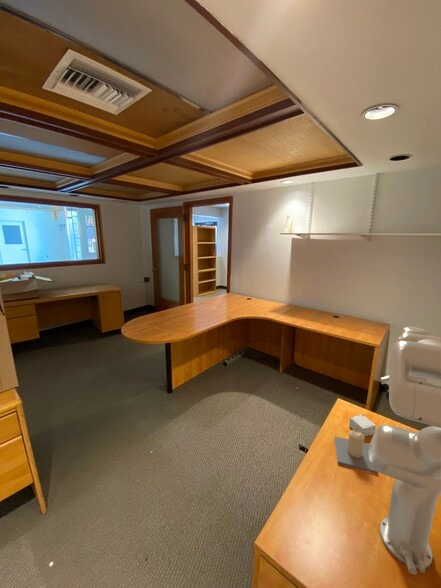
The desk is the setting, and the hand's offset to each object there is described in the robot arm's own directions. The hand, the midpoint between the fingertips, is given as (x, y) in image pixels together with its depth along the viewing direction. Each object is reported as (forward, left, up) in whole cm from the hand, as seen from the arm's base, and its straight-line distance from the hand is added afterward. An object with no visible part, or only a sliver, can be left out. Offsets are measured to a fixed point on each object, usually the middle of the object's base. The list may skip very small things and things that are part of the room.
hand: (403, 402), depth 94 cm
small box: (+17, +9, -28) cm, 34 cm away
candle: (0, +14, -27) cm, 31 cm away
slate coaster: (0, +14, -28) cm, 31 cm away
